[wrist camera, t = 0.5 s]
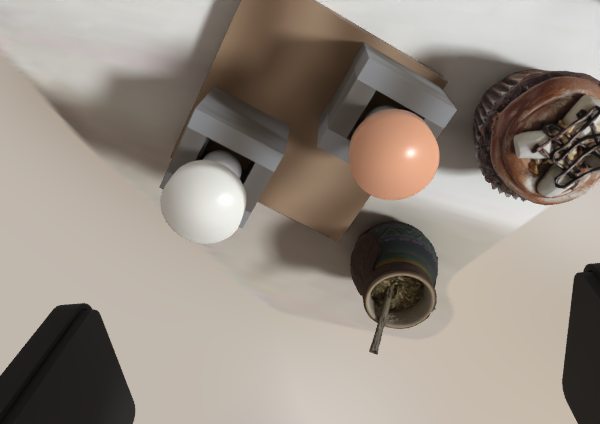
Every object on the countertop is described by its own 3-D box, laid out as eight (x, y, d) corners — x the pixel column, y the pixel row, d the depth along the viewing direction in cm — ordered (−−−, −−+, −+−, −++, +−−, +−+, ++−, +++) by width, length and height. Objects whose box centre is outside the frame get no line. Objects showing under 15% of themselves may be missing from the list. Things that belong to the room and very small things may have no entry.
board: (177, 148, 43) (145, 188, 36) (259, -33, 36) (241, -28, 29) (338, 230, 45) (339, 283, 38) (442, 76, 39) (466, 104, 32)
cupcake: (435, 121, 40) (463, 170, 32) (540, 28, 37) (605, 53, 28) (509, 199, 43) (555, 264, 34) (615, 118, 40) (696, 168, 31)
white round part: (175, 181, 36) (148, 221, 30) (203, 122, 34) (179, 155, 28) (237, 212, 37) (221, 256, 31) (268, 157, 34) (256, 194, 29)
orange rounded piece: (333, 139, 34) (333, 175, 28) (372, 75, 32) (380, 100, 26) (395, 173, 34) (406, 214, 29) (437, 112, 32) (457, 144, 27)
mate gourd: (446, 226, 45) (474, 296, 36) (409, 291, 48) (426, 370, 39) (369, 199, 44) (378, 265, 35) (337, 268, 47) (337, 343, 39)
